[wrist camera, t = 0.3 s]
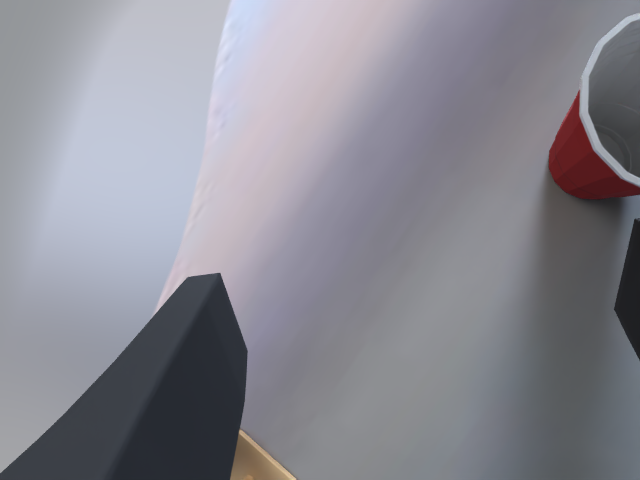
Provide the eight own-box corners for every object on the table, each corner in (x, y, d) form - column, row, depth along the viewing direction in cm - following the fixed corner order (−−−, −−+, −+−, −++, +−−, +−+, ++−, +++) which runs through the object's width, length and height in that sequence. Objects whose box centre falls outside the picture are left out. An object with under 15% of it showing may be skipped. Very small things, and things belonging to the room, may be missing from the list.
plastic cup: (610, 264, 37) (724, 238, 25) (487, 179, 39) (539, 118, 27) (694, 150, 37) (843, 73, 26) (569, 72, 39) (655, -33, 27)
